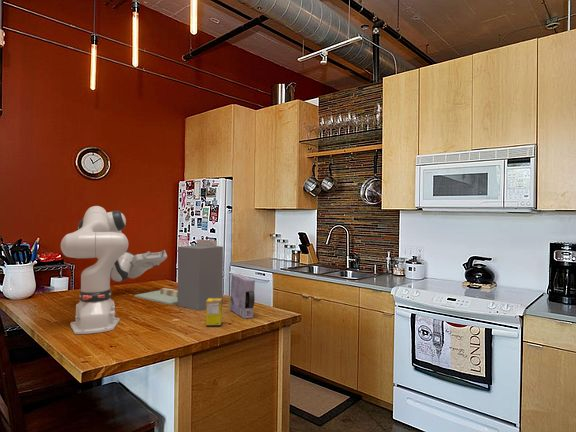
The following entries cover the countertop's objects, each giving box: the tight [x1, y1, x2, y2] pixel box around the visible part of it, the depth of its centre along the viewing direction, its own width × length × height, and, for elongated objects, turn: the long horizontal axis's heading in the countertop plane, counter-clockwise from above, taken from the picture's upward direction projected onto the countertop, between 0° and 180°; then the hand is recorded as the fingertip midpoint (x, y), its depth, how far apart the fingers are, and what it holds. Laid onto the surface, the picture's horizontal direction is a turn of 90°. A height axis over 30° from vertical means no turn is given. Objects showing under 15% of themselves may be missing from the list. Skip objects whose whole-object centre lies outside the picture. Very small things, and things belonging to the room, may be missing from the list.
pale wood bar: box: [196, 239, 218, 247], centre depth 204 cm, size 12×3×3 cm, turn 54°
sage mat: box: [134, 289, 178, 306], centre depth 216 cm, size 32×18×1 cm, turn 54°
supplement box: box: [205, 298, 223, 328], centre depth 165 cm, size 6×6×11 cm
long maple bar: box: [159, 287, 178, 298], centre depth 217 cm, size 20×3×3 cm
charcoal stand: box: [177, 244, 224, 311], centre depth 200 cm, size 16×16×30 cm
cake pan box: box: [229, 273, 256, 320], centre depth 183 cm, size 19×5×18 cm, turn 30°
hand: (157, 251), depth 221 cm, fingers open, 8 cm apart
